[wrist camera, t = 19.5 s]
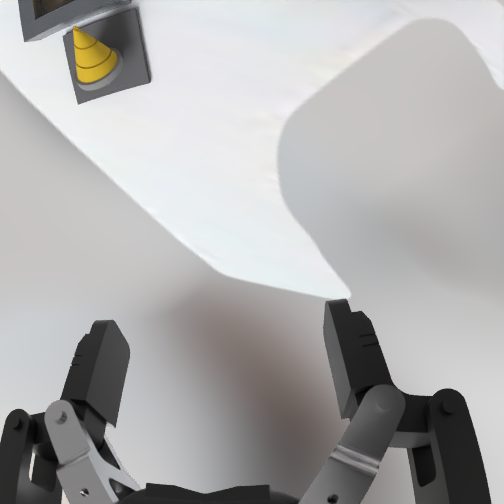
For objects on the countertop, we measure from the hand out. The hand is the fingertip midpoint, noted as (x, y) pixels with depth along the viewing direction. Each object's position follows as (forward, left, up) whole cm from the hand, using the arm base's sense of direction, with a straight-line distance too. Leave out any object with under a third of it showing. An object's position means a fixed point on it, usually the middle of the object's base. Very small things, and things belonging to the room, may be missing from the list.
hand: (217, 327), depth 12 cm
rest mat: (+12, -11, -28) cm, 33 cm away
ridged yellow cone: (+13, -11, -28) cm, 32 cm away
